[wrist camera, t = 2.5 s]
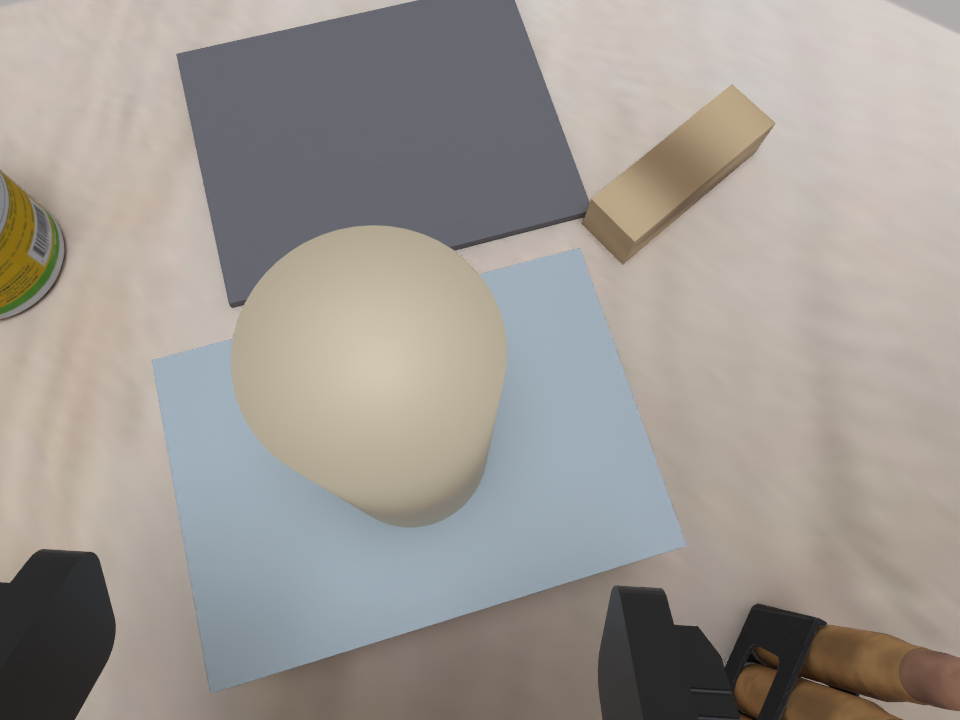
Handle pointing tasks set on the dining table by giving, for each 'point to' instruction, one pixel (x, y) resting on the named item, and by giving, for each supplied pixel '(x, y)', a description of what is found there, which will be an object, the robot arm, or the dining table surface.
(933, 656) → the ammunition clip
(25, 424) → the dining table surface
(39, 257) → the supplement bottle
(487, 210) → the mat
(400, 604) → the lid
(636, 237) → the wooden block
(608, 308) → the dining table surface
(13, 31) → the dining table surface
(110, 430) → the dining table surface
